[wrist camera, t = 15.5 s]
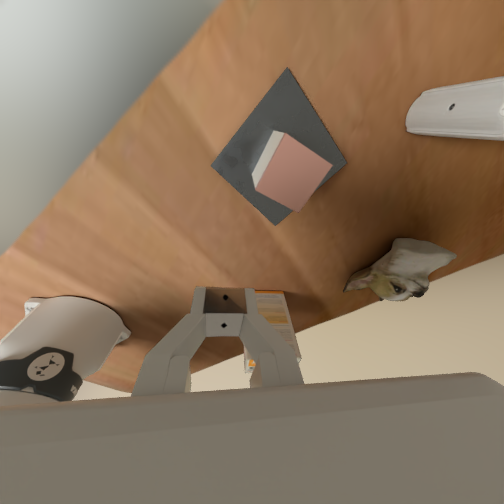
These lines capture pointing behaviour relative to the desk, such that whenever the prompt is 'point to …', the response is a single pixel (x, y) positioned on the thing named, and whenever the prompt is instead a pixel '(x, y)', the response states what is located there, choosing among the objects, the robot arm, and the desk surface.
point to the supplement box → (274, 322)
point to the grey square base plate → (259, 132)
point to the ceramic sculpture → (402, 270)
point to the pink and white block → (288, 171)
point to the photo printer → (460, 111)
